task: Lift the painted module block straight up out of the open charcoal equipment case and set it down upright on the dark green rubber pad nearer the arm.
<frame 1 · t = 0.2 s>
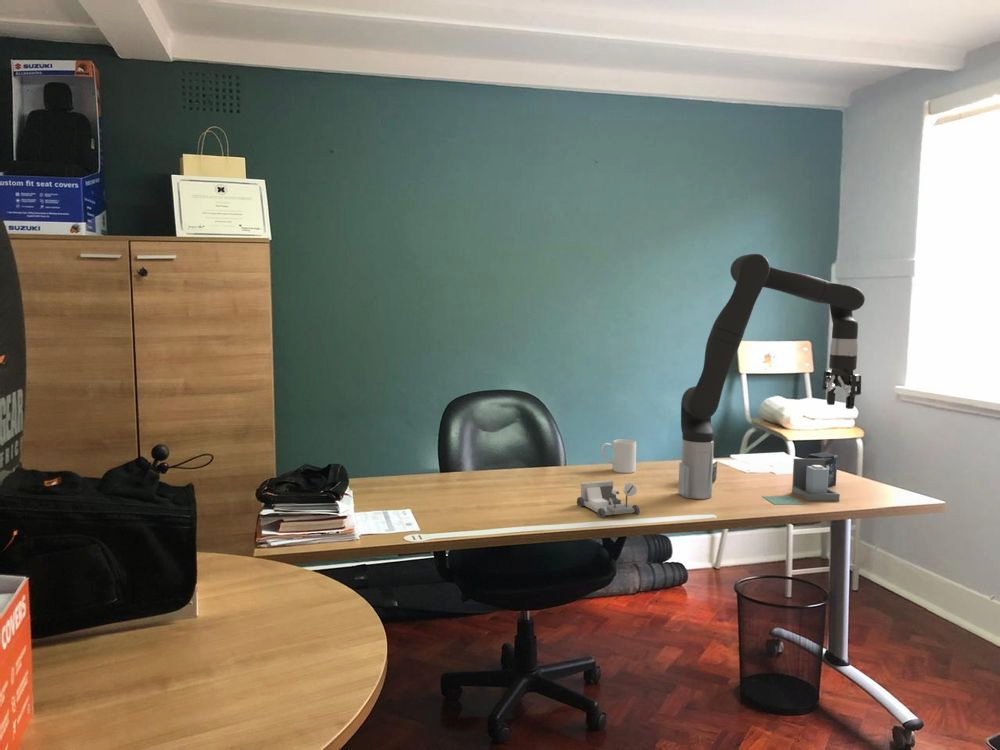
hand: (840, 406, 225), 28 cm above the table, fingers open, 8 cm apart
case: (815, 498, 224), on the table
pad: (782, 501, 220), on the table
module: (815, 496, 224), resting on case
mug: (618, 471, 259), on the table
box: (821, 487, 240), on the table
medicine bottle: (702, 482, 244), on the table
toy car: (609, 513, 208), on the table
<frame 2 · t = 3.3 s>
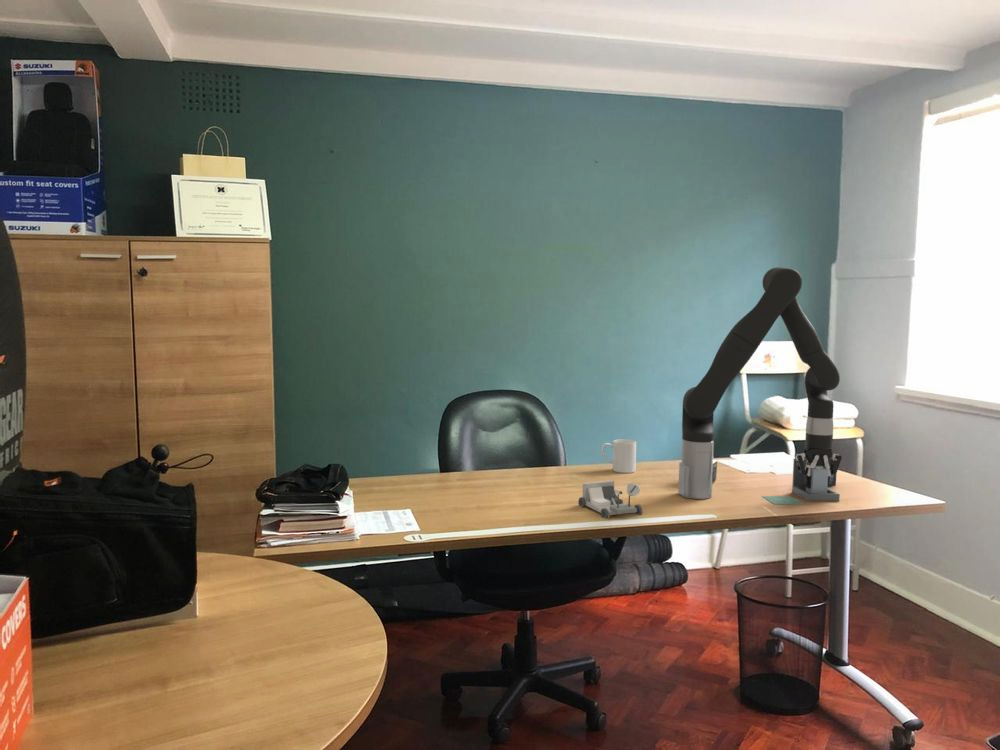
hand: (816, 487, 224), 3 cm above the table, fingers closed on module, 4 cm apart
module: (815, 496, 224), resting on case, touching gripper
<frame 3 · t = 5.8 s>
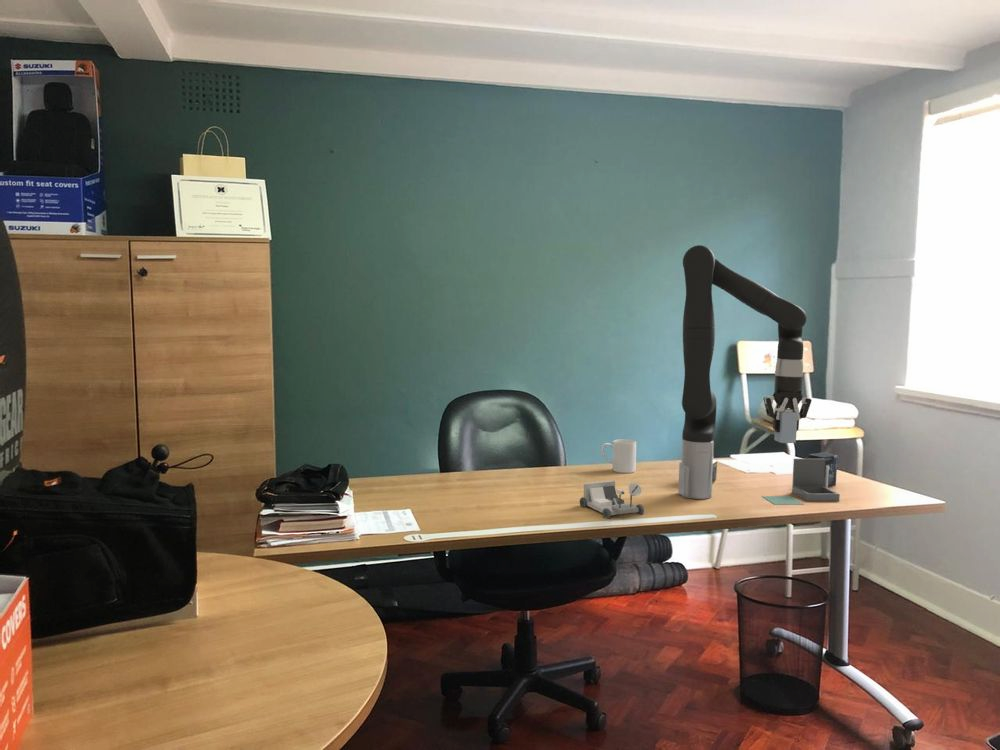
hand: (785, 431, 218), 21 cm above the table, fingers closed on module, 4 cm apart
module: (784, 441, 218), point 18 cm above the table, touching gripper
when the fingers open (4 cm above the table, at t = 8.8 s): module drops 1 cm, resting on pad.
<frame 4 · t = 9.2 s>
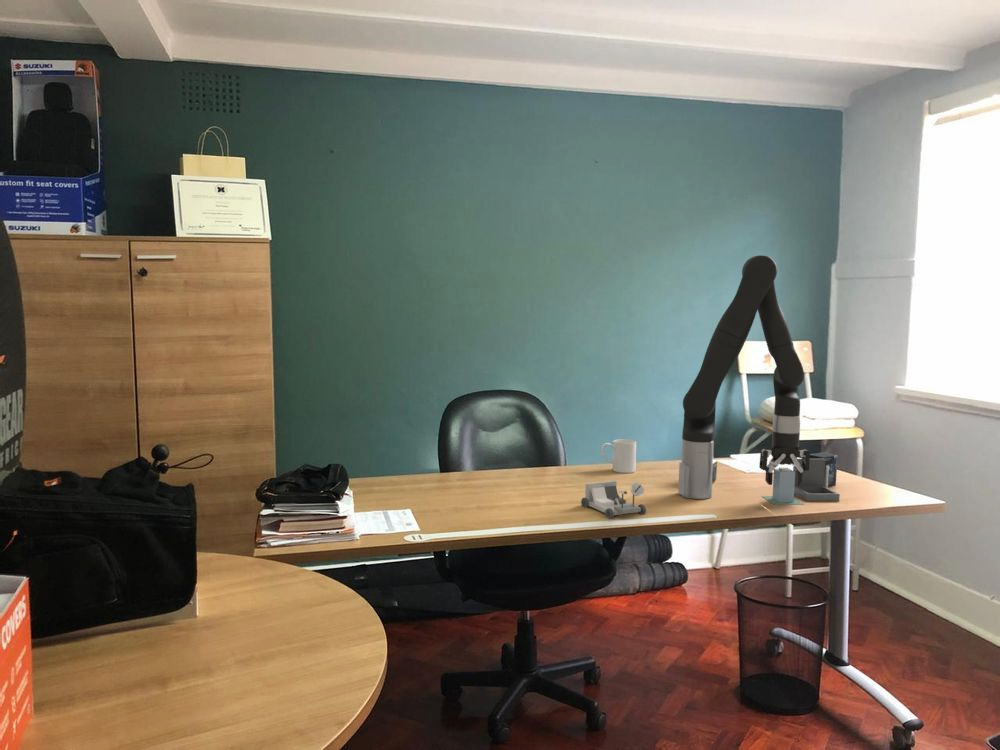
hand: (783, 484, 219), 5 cm above the table, fingers open, 8 cm apart
module: (782, 500, 220), resting on pad
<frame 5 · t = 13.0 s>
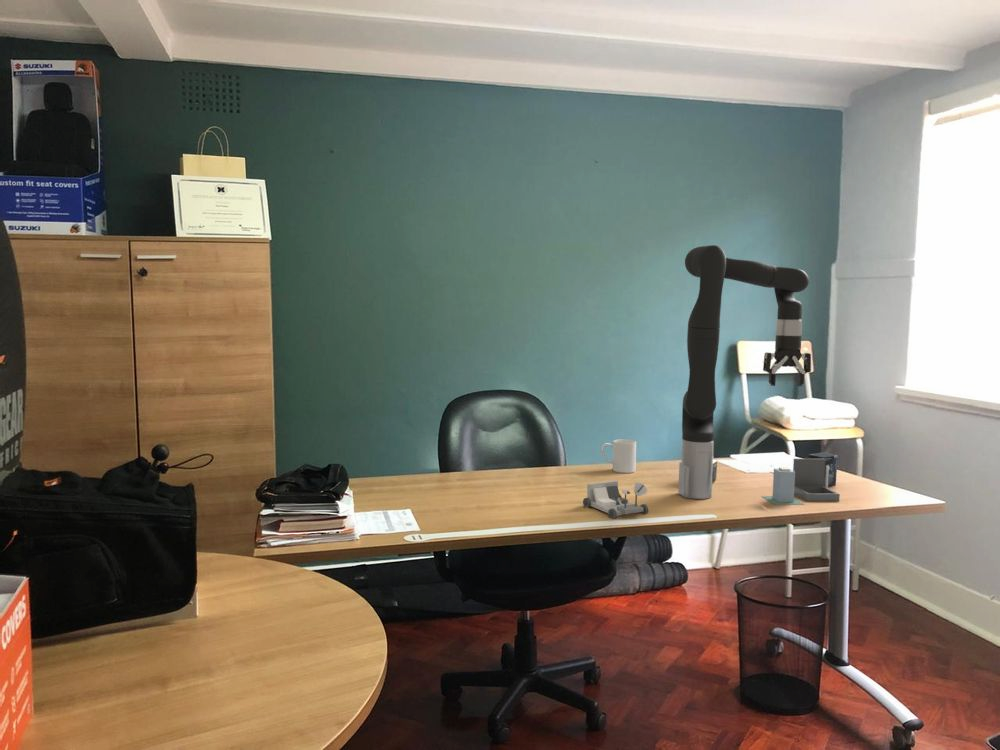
hand: (786, 385, 232), 33 cm above the table, fingers open, 8 cm apart
at the end: module inside the target area on the pad (0.1 cm from its centre), point 0.5 cm above the pad's base; module tilted 0°; the gripper is holding nothing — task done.
